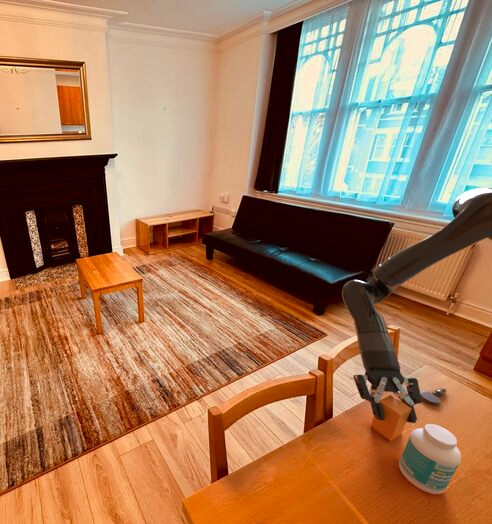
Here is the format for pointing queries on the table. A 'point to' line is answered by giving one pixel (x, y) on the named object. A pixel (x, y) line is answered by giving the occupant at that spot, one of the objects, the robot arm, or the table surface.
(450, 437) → the pill bottle
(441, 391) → the grey oval keychain
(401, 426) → the orange rectangular block
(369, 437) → the table surface
